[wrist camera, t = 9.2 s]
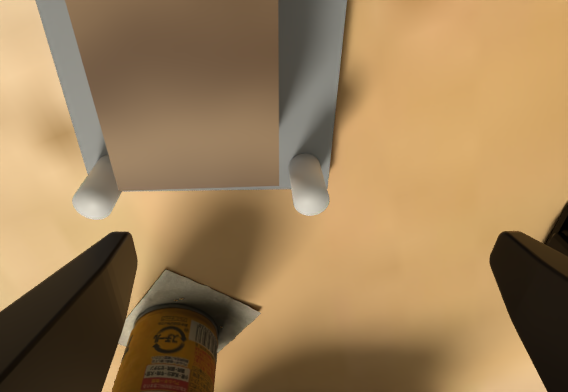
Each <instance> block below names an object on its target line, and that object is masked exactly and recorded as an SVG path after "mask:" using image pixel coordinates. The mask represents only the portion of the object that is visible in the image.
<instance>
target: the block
mask: <svg viewBox="0 0 568 392" xmlns="http://www.w3.org/2000/svg"><path fill="white" fill-rule="evenodd" d="M65 3H66V6H67V10H68V13H69V17H70V20H71V24H72V27H73V31H74V34H75V38H76V42H77V45H78V49H79V52H80V56H81V59H82V63H83V66H84V70H85V73H86V77H87V80H88V84H89V87H90V91H91V95H92V98H93V102H94V105H95V109H96V112H97V116H98V119H99V123H100V126H101V130H102V133H103V137H104V140H105V144H106V148H107V151H108V155H109V158H110V162H111V165H112V169H113V172H114V176H115V179H116V183H117V186H118V190H119V191H134V190H166V189H198V188H229V187H261V186H279V38H278V0H65Z"/></svg>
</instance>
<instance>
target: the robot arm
mask: <svg viewBox="0 0 568 392" xmlns="http://www.w3.org/2000/svg"><path fill="white" fill-rule="evenodd" d="M490 266H491V269H492V272H493V274H494V277H495V279H496V282H497V285H498V287H499V290H500V293H501V295H502V298H503V300H504V303H505V306H506V308H507V311H508V313H509V316H510V318H511V320H512V322H513V325H514V327H515V329H516V331H517V333H518V335H519V337H520V339H521V341H522V343H523V345H524V346H525V348H526V350H527V352H528V354H529V356H530V358H531V360H532V362H533V364H534V366H535V368H536V370H537V372H538V374H539V376H540V378H541V380H542V382H543V384H544V386H545V388H546V390H547V392H568V206H567V207H566V208H565V209H564V211H563V213H562V215H561V216H560V218H559V220H558V222H557V224H556V226H555V228H554V230H553V231H552V233H551V235H550V237H549V239H548V241H547V243H546V245H545V244H543V243H541V242H539V241H537V240H535V239H533V238H532V237H530V236H528V235H526V234H524V233H522V232H519V231H504V232H502V233H500V234H499V236H498V238H497V241H496V243H495V245H494V248H493V250H492V252H491V255H490ZM136 270H137V255H136V251H135V247H134V242H133V238H132V235H131V234H130V233H129V232H111V233H109V234H108V235H107V236H105V237H104V238H102V239H101V240H100V241H98V242H97V243H95V244H94V245H93V246H91V247H90V248H88V249H87V250H86V251H84V252H83V253H82V254H80V255H79V256H77V257H76V258H75V259H73V260H72V261H70V262H69V263H68V264H66V265H65V266H63V267H62V268H61V269H59V270H58V271H56V272H55V273H54V274H52V275H51V276H49V277H48V278H47V279H45V280H44V281H43V282H41V283H40V284H38V285H37V286H36V287H34V288H33V289H31V290H30V291H29V292H27V293H26V294H24V295H23V296H22V297H20V298H19V299H17V300H16V301H15V302H13V303H12V304H10V305H9V306H8V307H6V308H5V309H4V310H2V311H1V312H0V392H101V391H102V388H103V385H104V383H105V380H106V377H107V374H108V371H109V368H110V365H111V362H112V360H113V357H114V354H115V351H116V348H117V345H118V342H119V339H120V337H121V334H122V330H123V327H124V324H125V320H126V316H127V311H128V307H129V302H130V297H131V293H132V288H133V284H134V279H135V275H136Z"/></svg>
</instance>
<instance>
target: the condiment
mask: <svg viewBox="0 0 568 392" xmlns="http://www.w3.org/2000/svg"><path fill="white" fill-rule="evenodd" d="M180 298H184V299H183V300H179V299H180ZM173 300H178V301H173ZM260 314H261V313H260V312H258V311H256V310H254V309H251V308H250V307H249V306H247V305H245V304H243V303H241V302H239V301H236V300H234V299H232V298H230V297H229V296H226V295H224V294H222V293H220V292H217V291H215V290H213V289H211V288H210V287H208V286H204V285H201V284H198V283H196V282H194V281H192V280H190V279H188V278H186V277H183V276H180V275H177V274H175V273H173V272H171V271H168V270H165V271H164V272H163V273H162V275H161V276H160V278H159V279H158V280H157V281H156V282H155V283H154V285H153V286H152V288H151V289H150V290H149V291H148V293H147V294H146V295H145V296H144V298H143V299H142V300H141V301H140V303H139V304H138V305H137V306H136V307H135V308H134V309H133V311H132V312H131V313H130V315H129V316H128V317H127V318H126V320H125V324H124V327H123V330H122V334H121V337H120V339H119V342H118V344H120V345H123V346H126V349H125V352H124V355H123V358H122V362H121V365H120V367H119V371H118V373H117V376H116V380H115V381H114V386H113V388H112V392H214V382H215V370H216V362H217V353H218V352H219V351H220V350H222V349H223V347H224V346H226V345H227V344H228V343H229V342H230V341H232V340H233V339H235V337H236V336H237V335H238V334H239V333H240V332H241V331H242V330H243V329H244V328H245V327H246V326H247V325H249V324H250V323H251V322H253V321H254V320H255V319H256V318H257V317H258V316H259V315H260ZM221 327H222V328H221Z"/></svg>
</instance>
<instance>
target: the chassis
mask: <svg viewBox="0 0 568 392" xmlns="http://www.w3.org/2000/svg"><path fill="white" fill-rule="evenodd" d="M36 4H37V7H38V10H39V14H40V17H41V20H42V24H43V27H44V30H45V34H46V37H47V40H48V44H49V47H50V50H51V54H52V57H53V60H54V64H55V67H56V70H57V74H58V77H59V80H60V84H61V87H62V90H63V94H64V97H65V100H66V104H67V107H68V110H69V113H70V117H71V120H72V123H73V127H74V130H75V133H76V137H77V140H78V143H79V147H80V150H81V153H82V157H83V160H84V163H85V167H86V170H87V173H88V176H87V177H86V179H85V180H84V182H83V183H82V184H81V186H80V187H79V189H78V190H77V192H76V193H75V195H74V196H73V200H72V202H73V206H74V208H75V209H76V211H77V212H78V213H80V214H81V215H82V216H84V217H86V218H89V219H96V220H98V219H103V218H106V217H107V216H109V215H110V213H111V212H112V210H113V208H114V206H115V204H116V202H117V200H118V198H119V196H120V194H121V192H122V191H119V190H118V186H117V183H116V179H115V176H114V172H113V169H112V165H111V162H110V158H109V155H108V151H107V148H106V144H105V140H104V137H103V133H102V130H101V126H100V123H99V119H98V116H97V112H96V109H95V105H94V102H93V98H92V95H91V91H90V87H89V84H88V80H87V77H86V73H85V70H84V66H83V63H82V59H81V56H80V52H79V49H78V45H77V42H76V38H75V34H74V31H73V27H72V24H71V20H70V17H69V13H68V10H67V6H66V3H65V0H36ZM346 5H347V0H278V38H279V186H261V187H229V188H198V189H166V190H134V191H189V190H262V189H291V190H292V196H293V203H294V207H295V209H296V210H297V211H298V212H299V213H301V214H303V215H308V216H312V215H317V214H319V213H321V212H323V211H324V210H325V209H326V208H327V206H328V204H329V195H328V191H327V187H328V178H329V168H330V159H331V149H332V139H333V130H334V120H335V111H336V101H337V91H338V82H339V72H340V63H341V53H342V44H343V34H344V24H345V15H346Z"/></svg>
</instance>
